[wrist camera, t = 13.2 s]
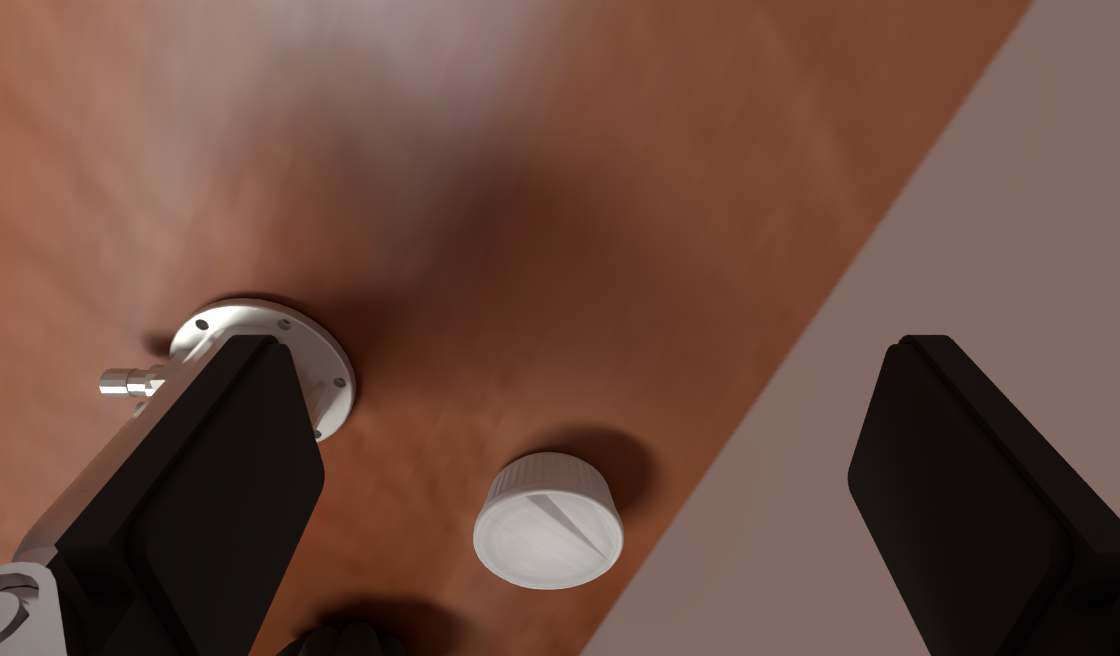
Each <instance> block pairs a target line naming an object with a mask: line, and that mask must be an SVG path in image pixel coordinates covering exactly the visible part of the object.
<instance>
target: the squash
mask: <svg viewBox="0 0 1120 656" xmlns="http://www.w3.org/2000/svg"><path fill="white" fill-rule="evenodd" d="M276 656H407V654H406V652H405V650H404V648H403V647H402V645H401V643H400V642H399V641H398V640H397V639H396V638H394V637H392V636H390V635H386V634H378V635H376V633H375V631H374V629H373V628H372V627H371V626H370V625H369V624H366V623H361V622H358V623H354V624H351V625H349V626H347V627H346V628H345V629H344V630H343V631H342V633H341V634H340V633H339V631H338V630H336V629H335V628H332V627H321V628H319V629H317V630H315V631H314V632H313V633H312V634H311V635H310V636H309V637H304V638H301V639H297V640H295V641H293V642H291V643H290V644H289V645H287V646H286V647H285V648H284V649H283V650H282V651H280V652H279V653H278V654H277V655H276Z"/></svg>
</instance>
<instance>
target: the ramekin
mask: <svg viewBox="0 0 1120 656" xmlns="http://www.w3.org/2000/svg"><path fill="white" fill-rule="evenodd" d="M473 541H474V547H475V550H476V553H477V555H478V558H479V559H480V560H481V561H482V563H483V564H484V565H485V566H486V567H487V568H488V569H489V570H490V571H492V572H493V573H494V574H496V575H497V576H499V577H501V578H503V579H505V580H507V581H509V582H511V583H513V584H516V585H519V586H522V587H526V588H533V589H562V588H569V587H574V586H577V585H581V584H584V583H586V582H589V581H591V580H593V579H595V578H597V577H598V576H600V575H602V574H603V573H605V572H606V571H607V570H609V569H610V568H611V567H612V566H613V564H614V563H615V562H616V561H617V559H618V557H619V556H620V554H621V551H622V548H623V544H624V530H623V524H622V521H621V518H620V516H619V514H618V512H617V511H616V509H615V506H614V503H613V500H612V496H611V493H610V490H609V488H608V485H607V483H606V481H605V480H604V478H603V476H602V475H601V474H600V473H599V472H598V471H597V470H596V469H595V468H594V467H593V466H591V465H589V464H588V463H587V462H585V461H583V460H581V459H579V458H577V457H574V456H571V455H567V454H563V453H556V452H542V453H535V454H531V455H527V456H524V457H522V458H520V459H518V460H516V461H514V462H512V463H511V464H510V465H508V466H506V467H505V468H504V469H503V470H501V471H500V473H499V474H498V475H497V476H496V477H495V480H494V481H493V483H492V485H491V488H490V490H489V493H488V495H487V498H486V501H485V504H484V506H483V509H482V510H481V512H480V514H479V515H478V518H477V520H476V523H475V528H474V537H473Z"/></svg>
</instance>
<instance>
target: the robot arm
mask: <svg viewBox="0 0 1120 656" xmlns="http://www.w3.org/2000/svg"><path fill="white" fill-rule="evenodd" d="M100 389H101V392H102V393H103V394H104V395H105V396H106V397H137V396H148V397H149V399H148V400H147V401H146V402H140V403H138V404H137V406H136V408H135V413H134V415H133V416H132V417H131V419H130V420H129V421H128V422H127V423H126V424H125V425H124V426H123V427H122V428H121V430H120V431H119V432H118V433H117V434H116V435H115V436H114V437H113V438H112V439H111V441H110V442H109V443H108V444H107V445H106V446H105V447H104V448H103V449H102V450H101V452H100V453H99V454H98V455H97V456H96V457H95V458H94V459H93V460H92V461H91V462H90V464H89V465H88V466H87V467H86V468H85V469H84V470H83V471H82V472H81V473H80V475H79V476H78V477H77V478H76V479H75V480H74V481H73V482H72V483H71V484H70V486H69V487H68V488H67V489H66V490H65V491H64V492H63V493H62V494H61V495H60V497H59V498H58V499H57V500H56V501H55V502H54V503H53V504H52V505H51V506H50V507H49V508H48V509H47V510H46V512H45V513H44V514H43V515H42V516H41V517H40V518H39V519H38V521H37V522H36V523H35V524H34V525H33V526H32V528H31V529H30V530H29V531H28V533H27V534H26V535H25V537H24V538H23V539H22V541H21V543H20V544H19V546H18V548H17V550H16V551H15V553H14V555H13V558H12V560H11V563H9V564H3V565H0V656H248V654H249V652H250V650H251V647H252V645H253V643H254V641H255V639H256V636H257V634H258V632H259V630H260V627H261V625H262V623H263V621H264V619H265V616H266V614H267V612H268V610H269V607H270V605H271V603H272V601H273V598H274V596H275V594H276V592H277V590H278V587H279V585H280V583H281V581H282V578H283V576H284V574H285V572H286V570H287V567H288V565H289V563H290V561H291V558H292V556H293V554H294V552H295V550H296V547H297V545H298V543H299V541H300V538H301V536H302V534H303V532H304V530H305V527H306V525H307V523H308V521H309V518H310V516H311V514H312V512H313V510H314V507H315V505H316V503H317V501H318V498H319V496H320V494H321V492H322V489H323V485H324V479H325V471H324V466H323V462H322V459H321V455H320V452H319V448H318V445H317V442H320V441H322V440H324V439H327V438H328V437H329V436H331V435H332V434H334V433H335V432H336V431H337V430H338V429H339V428H340V427H341V426H342V425H343V424H344V422H345V421H346V419H347V417H348V415H349V413H350V411H351V409H352V406H353V403H354V400H355V396H356V380H355V375H354V370H353V368H352V365H351V363H350V361H349V358H348V356H347V355H346V353H345V352H344V350H343V349H342V347H341V346H340V344H339V343H338V342H337V341H336V340H335V339H334V338H333V337H332V336H331V334H330V333H329V332H328V331H326V330H325V329H324V328H323V327H321V326H320V325H319V324H318V323H316V322H315V321H314V320H312V319H310V318H309V317H307V316H305V315H303V314H302V313H300V312H298V311H296V310H294V309H291V308H289V307H286V306H284V305H281V304H278V303H274V302H270V301H266V300H261V299H250V298H236V299H225V300H221V301H218V302H214V303H211V304H208V305H207V306H205V307H203V308H201V309H199V310H197V311H196V312H195V313H194V314H193V315H192V316H190V317H189V318H188V319H187V320H186V321H185V322H184V323H183V324H182V326H181V327H180V328H179V329H178V330H177V332H176V333H175V336H174V338H173V340H172V342H171V346H170V353H169V362H168V363H167V364H166V365H154V366H152V367H151V368H150V369H149V370H139V369H107V370H106V371H105V372H104V373H103V374H102V376H101V378H100ZM848 486H849V490H850V493H851V495H852V497H853V499H854V501H855V503H856V505H857V507H858V509H859V511H860V513H861V515H862V517H863V519H864V521H865V523H866V525H867V527H868V529H869V531H870V533H871V535H872V537H873V539H874V541H875V543H876V545H877V548H878V550H879V551H880V554H881V556H882V558H883V560H884V562H885V564H886V566H887V568H888V570H889V572H890V574H891V576H892V578H893V580H894V582H895V584H896V586H897V588H898V590H899V592H900V594H901V596H902V598H903V600H904V602H905V604H906V606H907V608H908V610H909V612H910V614H911V616H912V618H913V620H914V622H915V624H916V626H917V628H918V630H919V632H920V634H921V636H922V638H923V640H924V642H925V645H926V647H927V648H928V651H929V653H930V654H931V656H1120V518H1118V516H1117V515H1116V514H1115V513H1114V512H1113V511H1112V510H1111V509H1110V508H1109V507H1108V506H1107V505H1106V503H1105V502H1104V501H1103V500H1102V499H1101V498H1100V497H1099V496H1098V495H1097V494H1096V493H1095V492H1094V491H1093V490H1092V488H1091V487H1090V486H1089V485H1088V484H1087V483H1086V482H1085V481H1084V480H1083V479H1082V478H1081V477H1080V476H1079V475H1078V474H1077V472H1076V471H1075V470H1074V469H1073V468H1072V467H1071V466H1070V465H1069V464H1068V463H1067V462H1066V461H1065V459H1064V458H1063V457H1062V456H1061V455H1060V454H1059V453H1058V452H1057V451H1056V450H1055V449H1054V448H1053V447H1052V446H1051V444H1049V442H1048V441H1047V440H1046V439H1045V438H1044V437H1043V436H1042V435H1041V434H1040V433H1039V432H1038V431H1037V429H1036V428H1035V427H1034V426H1033V425H1032V424H1031V423H1030V422H1029V421H1028V420H1027V419H1026V418H1025V417H1024V416H1023V414H1021V412H1020V411H1019V410H1018V409H1017V408H1016V407H1015V406H1014V405H1013V404H1012V403H1011V402H1010V401H1009V399H1007V397H1006V396H1005V395H1004V394H1003V393H1002V392H1001V391H1000V390H999V389H998V388H997V387H996V386H995V385H994V383H993V382H992V381H991V380H990V379H989V378H988V377H987V376H986V375H985V374H984V373H983V372H982V371H981V369H980V368H979V367H978V366H977V365H976V364H975V363H974V362H973V361H972V360H971V359H970V358H969V357H968V356H967V355H966V353H965V352H964V351H963V350H962V349H961V348H960V347H959V346H958V345H957V344H956V343H955V342H954V341H953V339H951V338H950V337H949V336H946V335H906V336H904V337H902V339H901V340H900V341H899V343H898V344H893V345H891V346H890V347H889V348H888V350H887V352H886V355H885V358H884V361H883V364H882V367H881V370H880V374H879V376H878V380H877V383H876V386H875V389H874V392H873V395H872V398H871V401H870V405H869V408H868V411H867V414H866V417H865V420H864V423H863V426H862V429H861V433H860V436H859V439H858V442H857V445H856V448H855V451H854V454H853V458H852V461H851V464H850V467H849V471H848Z"/></svg>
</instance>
